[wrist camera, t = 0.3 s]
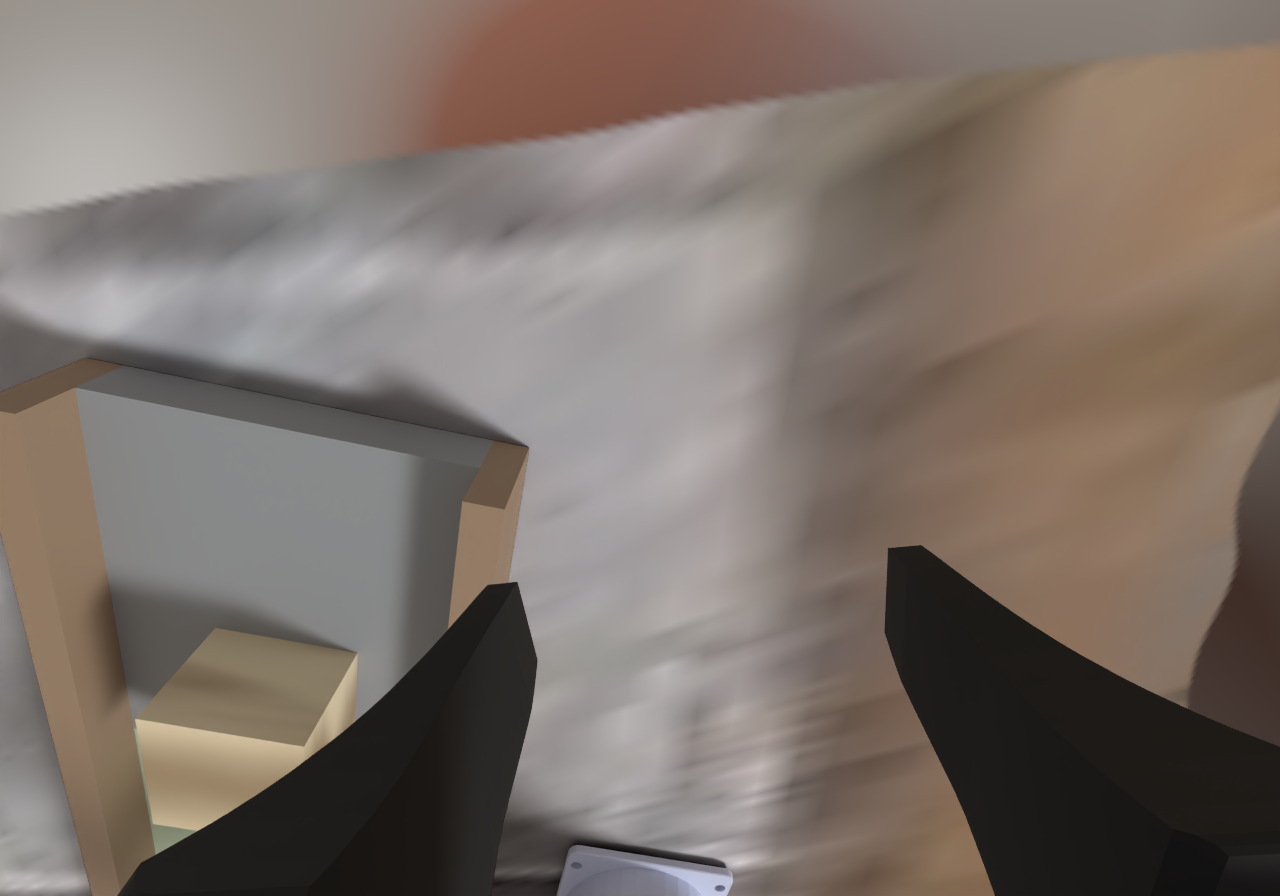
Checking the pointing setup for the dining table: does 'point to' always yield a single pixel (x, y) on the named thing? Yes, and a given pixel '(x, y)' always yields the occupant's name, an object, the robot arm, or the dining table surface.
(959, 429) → the dining table surface
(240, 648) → the wood block
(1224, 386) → the dining table surface
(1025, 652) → the robot arm
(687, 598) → the dining table surface
